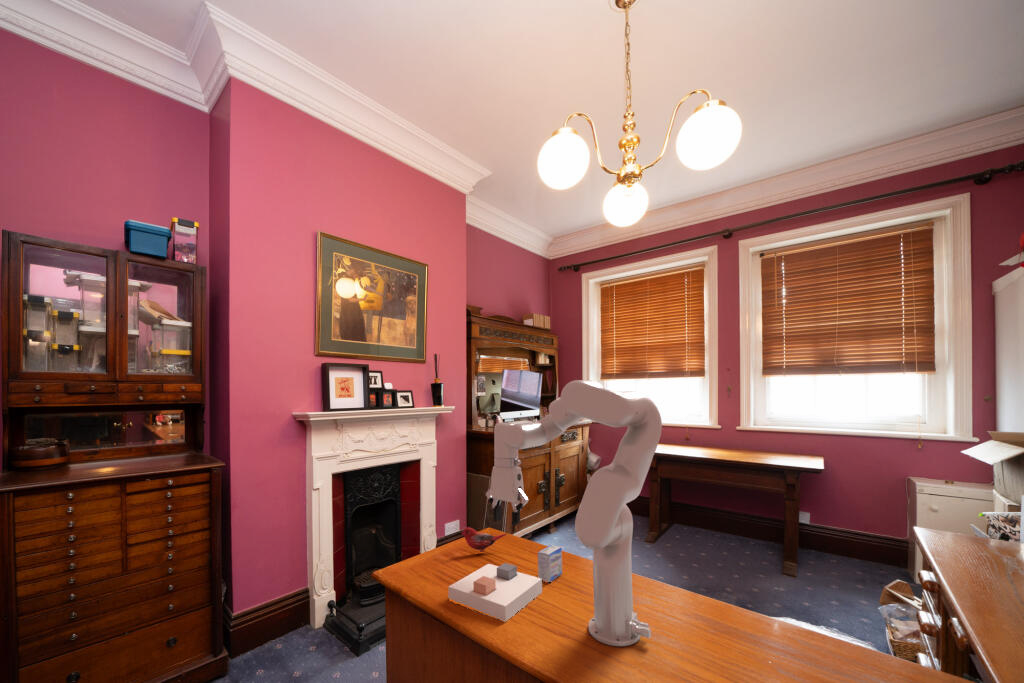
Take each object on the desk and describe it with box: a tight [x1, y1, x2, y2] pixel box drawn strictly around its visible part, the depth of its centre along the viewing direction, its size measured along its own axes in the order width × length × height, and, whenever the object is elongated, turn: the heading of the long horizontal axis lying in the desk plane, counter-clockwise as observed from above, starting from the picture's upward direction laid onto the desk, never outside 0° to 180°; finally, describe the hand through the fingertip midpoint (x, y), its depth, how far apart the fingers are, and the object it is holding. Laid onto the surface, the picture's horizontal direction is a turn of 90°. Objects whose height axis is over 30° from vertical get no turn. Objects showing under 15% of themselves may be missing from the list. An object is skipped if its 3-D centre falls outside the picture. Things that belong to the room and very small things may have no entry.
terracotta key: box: [474, 576, 496, 596], centre depth 117 cm, size 4×4×3 cm
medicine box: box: [537, 544, 563, 583], centre depth 134 cm, size 8×4×9 cm, turn 143°
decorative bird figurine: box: [461, 526, 508, 552], centre depth 154 cm, size 3×18×10 cm, turn 107°
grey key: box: [497, 562, 518, 581], centre depth 126 cm, size 4×4×3 cm
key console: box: [448, 563, 543, 623], centre depth 121 cm, size 20×19×4 cm
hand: (506, 521), depth 128 cm, fingers open, 6 cm apart
